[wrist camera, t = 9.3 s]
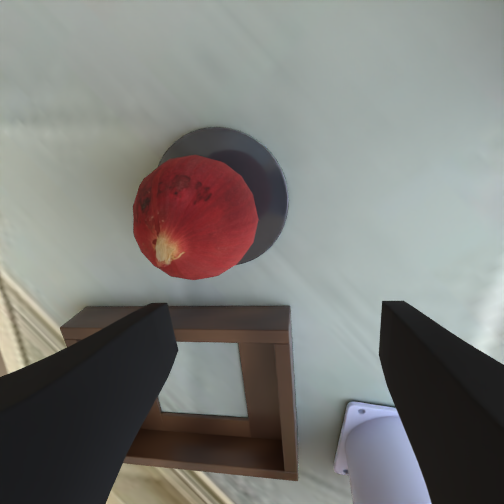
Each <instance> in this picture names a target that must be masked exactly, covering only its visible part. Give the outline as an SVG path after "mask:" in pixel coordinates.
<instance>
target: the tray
mask: <svg viewBox="0 0 504 504" xmlns="http://www.w3.org/2000/svg"><path fill="white" fill-rule="evenodd" d="M143 307H144V306H143ZM140 308H142V307H85V308H84V309H83V310H81V311H80V312H79V313H78V314H76V315H75V316H74V317H73V318H71V319H70V320H69V321H68V322H66V323H65V324H64V325H62V326H61V327H60V330H61V333H62V335H63V338H64V341H65V343H66V346H67V347H69V346H71V345H73V344H75V343H77V342H79V341H80V340H82V339H84V338H86V337H88V336H90V335H92V334H94V333H96V332H98V331H99V330H101V329H103V328H105V327H107V326H108V325H110V324H112V323H114V322H116V321H117V320H119V319H121V318H123V317H125V316H127V315H128V314H130V313H132V312H134V311H136V310H138V309H140ZM168 308H169V312H170V317H171V321H172V325H173V330H174V334H175V338H176V342H224V343H238V345H239V352H240V360H241V367H242V374H243V381H244V389H245V396H246V403H247V410H248V418H241V417H226V416H211V415H196V414H181V413H166V412H162V411H161V407H160V404H159V400H158V397H157V399H156V400H155V402H154V404H153V406H152V408H151V410H150V411H149V413H148V415H147V417H146V419H145V420H144V422H143V424H142V426H141V428H140V430H139V431H138V433H137V435H136V437H135V439H134V441H133V443H132V445H131V447H130V449H129V451H128V453H127V455H126V457H125V459H124V461H123V463H127V464H136V465H146V466H156V467H165V468H175V469H185V470H195V471H204V472H214V473H224V474H233V475H243V476H253V477H262V478H272V479H282V480H292V481H298V431H297V414H296V396H295V379H294V361H293V344H292V326H291V308H290V306H168Z"/></svg>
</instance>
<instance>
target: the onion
mask: <svg viewBox="0 0 504 504" xmlns="http://www.w3.org/2000/svg"><path fill="white" fill-rule="evenodd" d="M133 216H134V223H133V233H134V237H135V239H136V241H137V243H138V245H139V248H140V250H141V252H142V253H143V254H144V255H145V256H146V258H147V259H148V260H149V261H150V262H151V263H152V264H153V265H154V266H156V267H157V268H159V269H161V270H162V271H164V272H165V273H167V274H168V275H170V276H172V277H178V278H184V279H190V280H197V279H203V278H209V277H214V276H218V275H220V274H222V273H223V272H225V271H226V270H228V269H230V268H231V267H233V266H234V265H236V264H237V263H238V262H239V261H240V260H241V259H242V258H243V256H244V255H245V253H246V252H247V251H248V249H249V248H250V246H251V245H252V244H253V242H254V237H255V233H256V228H257V224H258V215H257V211H256V206H255V202H254V198H253V194H252V192H251V191H250V189H249V187H248V186H247V184H246V183H245V181H244V179H243V178H242V176H241V175H239V174H238V173H237V172H235V171H234V170H233V169H232V168H230V167H229V166H228V165H226V164H225V163H223V162H221V161H217V160H213V159H209V158H206V157H202V156H198V155H191V156H185V157H179V158H172V159H169V160H168V161H166V162H164V163H163V164H162V165H160V166H159V167H158V168H157V169H155V170H154V171H153V172H152V173H150V174H149V175H148V176H147V177H145V178H144V179H143V181H142V182H141V184H140V186H139V189H138V192H137V195H136V198H135V202H134V205H133Z"/></svg>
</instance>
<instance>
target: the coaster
mask: <svg viewBox="0 0 504 504" xmlns="http://www.w3.org/2000/svg"><path fill="white" fill-rule="evenodd" d="M191 155H198V156H202V157H206V158H209V159H213V160H217V161H221V162H223V163H225V164H226V165H228V166H229V167H230V168H232V169H233V170H234V171H235V172H237V173H238V174H239V175H241V176H242V178H243V179H244V181H245V183H246V184H247V186H248V187H249V189H250V191H251V192H252V194H253V198H254V202H255V206H256V211H257V215H258V224H257V228H256V233H255V237H254V242H253V244H252V245H251V246H250V248H249V249H248V251H247V252H246V253H245V255H244V256H243V258H242V259H241V260H240V261H239V262H238V263H237V264H236V265H238V264H243V263H246V262H248V261H251V260H253V259H255V258H257V257H259V256H260V255H262V254H263V253H264V252H266V251H267V250H268V249H269V248H270V247H271V246H272V245H273V243H274V242H275V241H276V240H277V238H278V237H279V235H280V233H281V231H282V229H283V227H284V224H285V221H286V218H287V212H288V204H289V195H288V187H287V183H286V179H285V176H284V174H283V171H282V169H281V167H280V165H279V163H278V161H277V160H276V159H275V157H274V156H273V154H272V153H271V152H270V151H269V150H268V149H267V148H266V147H265V146H264V145H263V144H262V143H260V142H259V141H258V140H256V139H255V138H253V137H251V136H250V135H248V134H246V133H243V132H241V131H238V130H234V129H230V128H222V127H209V128H203V129H199V130H196V131H193V132H190V133H188V134H186V135H184V136H183V137H181V138H180V139H178V140H177V141H176V142H175V143H174V144H173V145H172V146H171V147H170V148H169V149H168V150H167V151H166V153H165V154H164V155H163V157H162V159H161V161H160V162H159V165H158V167H159V166H160V165H162V164H163V163H164V162H166V161H168V160H169V159H172V158H179V157H185V156H191ZM158 167H157V168H158Z"/></svg>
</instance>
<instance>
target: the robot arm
mask: <svg viewBox="0 0 504 504" xmlns="http://www.w3.org/2000/svg"><path fill="white" fill-rule="evenodd" d="M177 352H178V347H177V342H176V338H175V334H174V330H173V325H172V321H171V317H170V312H169V308H168V304H167V303H151V304H148V305H146V306H144V307H142V308H140V309H138V310H136V311H134V312H132V313H130V314H128V315H127V316H125V317H123V318H121V319H119V320H117V321H116V322H114V323H112V324H110V325H108V326H107V327H105V328H103V329H101V330H99V331H98V332H96V333H94V334H92V335H90V336H88V337H86V338H84V339H82V340H80V341H79V342H77V343H75V344H73V345H71V346H69V347H67V348H65V349H63V350H61V351H59V352H57V353H55V354H53V355H51V356H49V357H47V358H44V359H42V360H40V361H38V362H35V363H33V364H31V365H29V366H26V367H24V368H22V369H19V370H17V371H15V372H12V373H10V374H7V375H4V376H2V377H0V504H106V501H107V499H108V496H109V494H110V491H111V489H112V487H113V484H114V482H115V480H116V477H117V475H118V473H119V471H120V468H121V466H122V464H123V461H124V459H125V457H126V455H127V453H128V451H129V449H130V447H131V445H132V443H133V441H134V439H135V437H136V435H137V433H138V431H139V430H140V428H141V426H142V424H143V422H144V420H145V419H146V417H147V415H148V413H149V411H150V410H151V408H152V406H153V404H154V402H155V400H156V399H157V397H158V395H159V393H160V391H161V389H162V387H163V386H164V384H165V382H166V380H167V378H168V376H169V373H170V371H171V368H172V366H173V363H174V361H175V358H176V355H177ZM379 357H380V361H381V365H382V369H383V373H384V376H385V380H386V384H387V387H388V389H389V392H390V394H391V397H392V399H393V402H394V404H395V407H396V408H393V407H387V406H380V405H374V404H367V403H361V402H349V403H348V404H347V407H346V412H345V416H344V421H343V425H342V430H341V434H340V438H339V443H338V447H337V452H336V456H335V461H334V471H335V472H336V473H338V474H343V475H348V476H349V478H350V485H351V492H352V499H353V504H504V365H503V364H501V363H500V362H498V361H496V360H495V359H493V358H491V357H490V356H488V355H486V354H484V353H483V352H481V351H479V350H478V349H476V348H474V347H473V346H471V345H470V344H468V343H466V342H465V341H463V340H462V339H460V338H459V337H457V336H456V335H454V334H452V333H451V332H449V331H448V330H446V329H445V328H443V327H442V326H440V325H439V324H438V323H436V322H435V321H433V320H432V319H430V318H429V317H427V316H426V315H424V314H423V313H421V312H420V311H418V310H417V309H416V308H414V307H413V306H411V305H409V304H408V303H406V302H404V301H382V313H381V329H380V345H379Z"/></svg>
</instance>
